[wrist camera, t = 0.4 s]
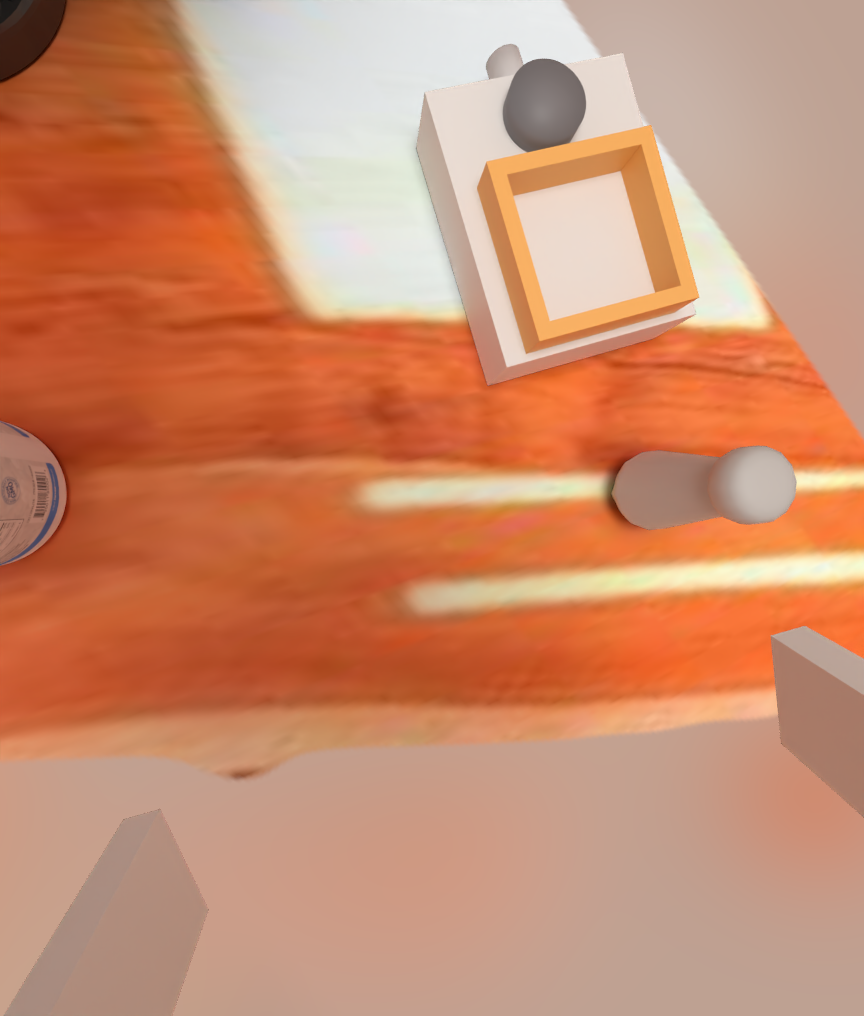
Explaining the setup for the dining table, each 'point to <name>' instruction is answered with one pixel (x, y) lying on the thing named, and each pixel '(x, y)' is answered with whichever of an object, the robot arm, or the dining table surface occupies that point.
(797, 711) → the robot arm
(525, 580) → the dining table surface
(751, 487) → the salt shaker
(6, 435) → the supplement tub
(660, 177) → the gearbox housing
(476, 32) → the dining table surface
